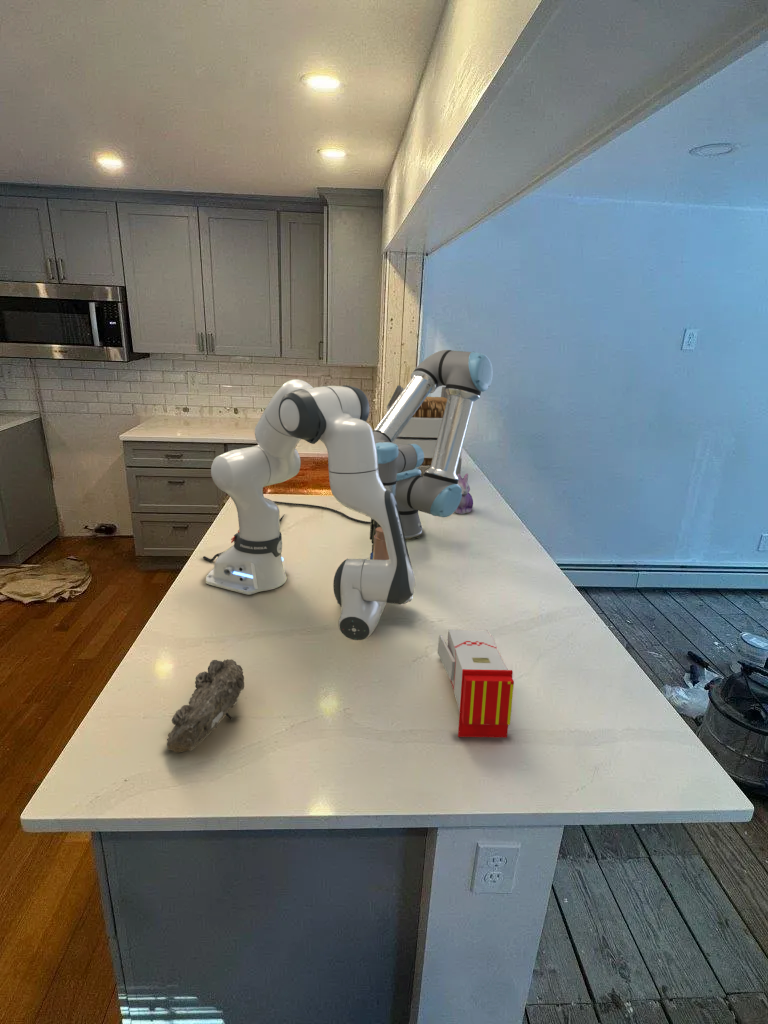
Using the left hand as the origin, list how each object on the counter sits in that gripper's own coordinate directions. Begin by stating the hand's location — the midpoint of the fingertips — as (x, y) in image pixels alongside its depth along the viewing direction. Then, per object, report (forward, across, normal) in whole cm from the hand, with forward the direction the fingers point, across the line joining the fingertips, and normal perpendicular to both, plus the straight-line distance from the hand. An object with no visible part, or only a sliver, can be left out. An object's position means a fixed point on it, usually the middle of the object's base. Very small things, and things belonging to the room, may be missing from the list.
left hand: (381, 573), depth 155 cm
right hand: (+17, +4, +6) cm, 18 cm away
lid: (+17, +4, +2) cm, 17 cm away
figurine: (+78, -17, +7) cm, 80 cm away
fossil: (-57, +21, +6) cm, 61 cm away
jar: (-1, 0, +6) cm, 7 cm away
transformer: (+126, +8, +7) cm, 127 cm away
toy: (-36, -27, +6) cm, 46 cm away
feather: (+48, +47, +7) cm, 67 cm away
